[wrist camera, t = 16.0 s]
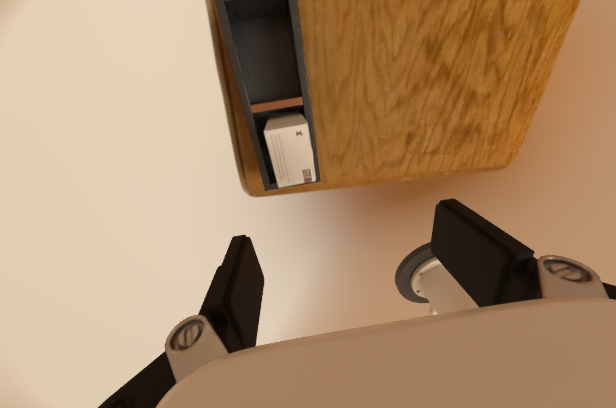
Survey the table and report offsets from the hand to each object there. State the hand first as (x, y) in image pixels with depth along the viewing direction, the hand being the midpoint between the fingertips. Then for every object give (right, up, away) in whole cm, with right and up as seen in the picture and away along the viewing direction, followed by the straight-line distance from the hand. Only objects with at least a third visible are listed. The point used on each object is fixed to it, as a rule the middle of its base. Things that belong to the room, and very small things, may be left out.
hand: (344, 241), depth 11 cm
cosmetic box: (-5, +12, +21) cm, 24 cm away
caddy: (-6, +16, +19) cm, 26 cm away
